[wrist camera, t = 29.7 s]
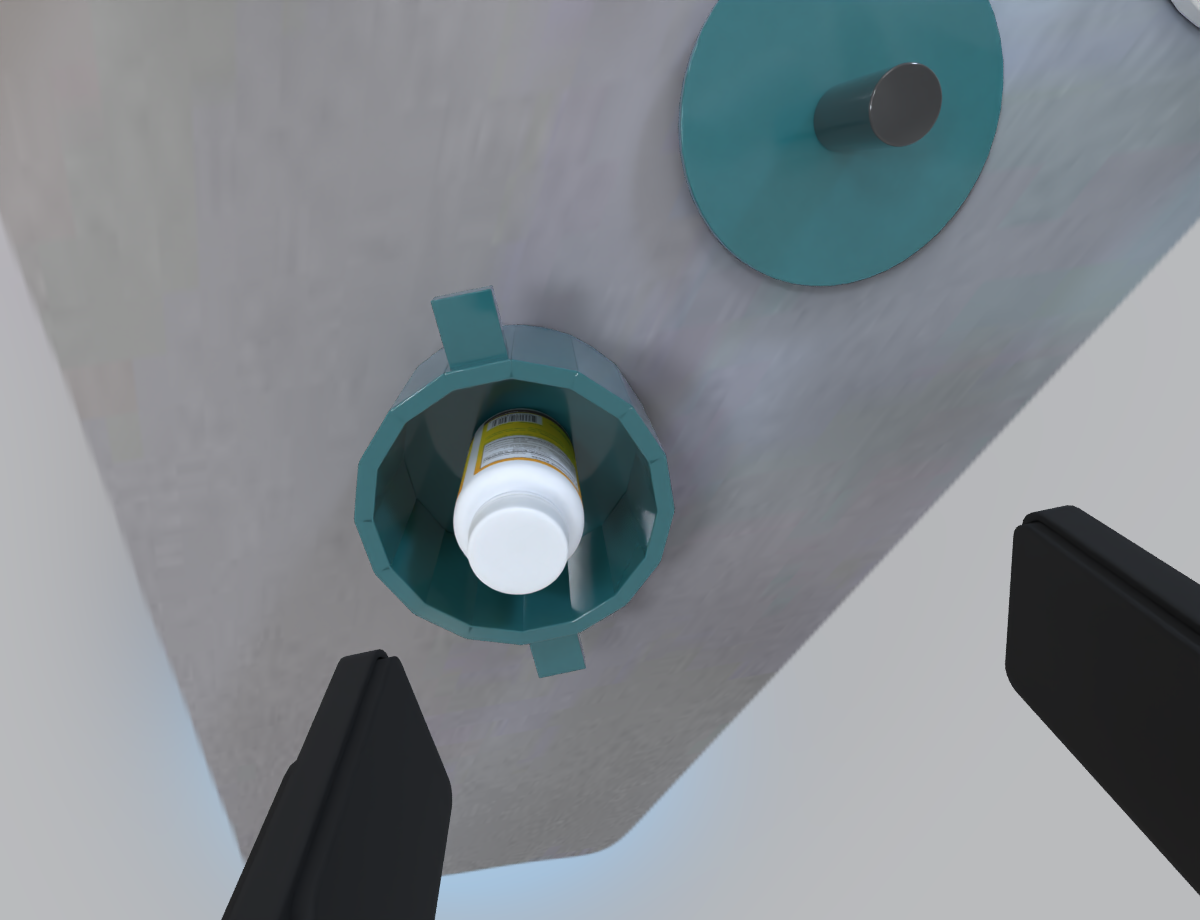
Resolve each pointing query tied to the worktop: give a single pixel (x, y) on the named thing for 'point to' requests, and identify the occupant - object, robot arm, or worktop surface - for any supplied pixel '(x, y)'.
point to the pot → (436, 464)
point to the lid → (837, 128)
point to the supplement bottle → (519, 502)
